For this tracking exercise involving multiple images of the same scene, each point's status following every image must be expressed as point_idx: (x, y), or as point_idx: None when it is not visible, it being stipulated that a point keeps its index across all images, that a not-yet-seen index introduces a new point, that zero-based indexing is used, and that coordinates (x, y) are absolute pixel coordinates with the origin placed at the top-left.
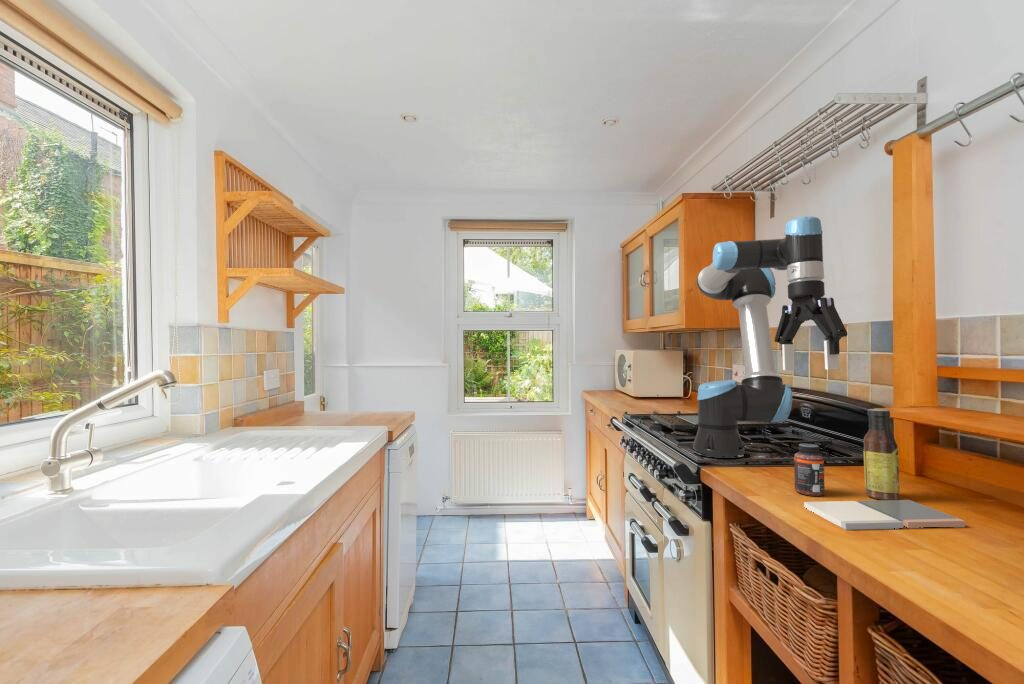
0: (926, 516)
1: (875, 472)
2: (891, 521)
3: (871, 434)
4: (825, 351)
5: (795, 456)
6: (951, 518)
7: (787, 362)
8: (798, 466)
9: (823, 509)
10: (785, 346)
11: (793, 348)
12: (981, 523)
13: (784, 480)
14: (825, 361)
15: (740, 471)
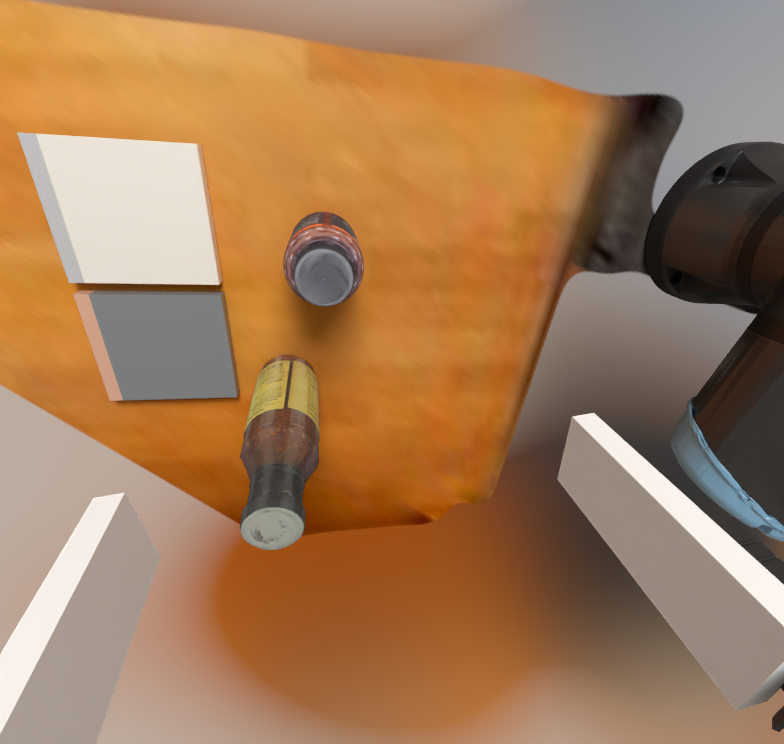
0: (124, 355)
1: (264, 386)
2: (68, 262)
3: (269, 447)
4: (16, 674)
5: (332, 228)
6: (121, 389)
7: (606, 476)
8: (316, 222)
9: (133, 154)
10: (759, 620)
11: (694, 649)
12: (146, 432)
13: (433, 252)
14: (82, 555)
15: (537, 180)
